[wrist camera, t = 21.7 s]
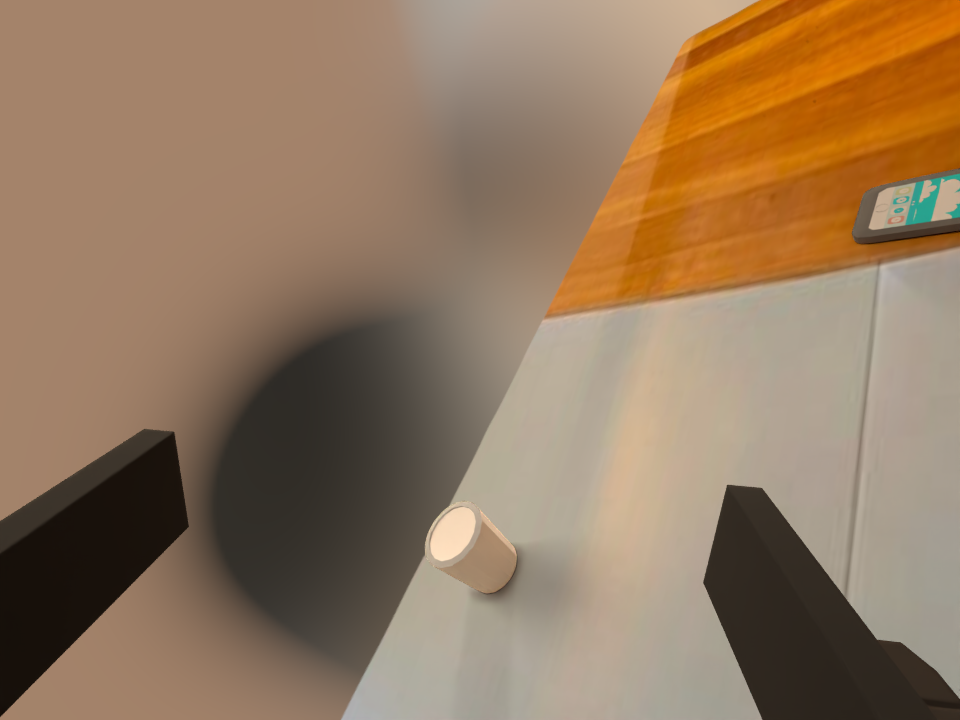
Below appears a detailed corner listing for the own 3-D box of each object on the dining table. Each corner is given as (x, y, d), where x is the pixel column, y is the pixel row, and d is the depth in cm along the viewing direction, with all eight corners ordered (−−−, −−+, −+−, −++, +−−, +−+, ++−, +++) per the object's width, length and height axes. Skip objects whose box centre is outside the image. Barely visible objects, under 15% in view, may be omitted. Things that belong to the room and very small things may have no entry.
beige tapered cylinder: (495, 612, 49) (449, 580, 46) (455, 581, 55) (412, 550, 51) (534, 549, 51) (493, 513, 48) (492, 525, 57) (453, 491, 53)
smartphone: (865, 185, 55) (1080, 140, 44) (867, 193, 56) (1080, 149, 44) (848, 239, 52) (1077, 205, 40) (851, 247, 52) (1078, 215, 41)
